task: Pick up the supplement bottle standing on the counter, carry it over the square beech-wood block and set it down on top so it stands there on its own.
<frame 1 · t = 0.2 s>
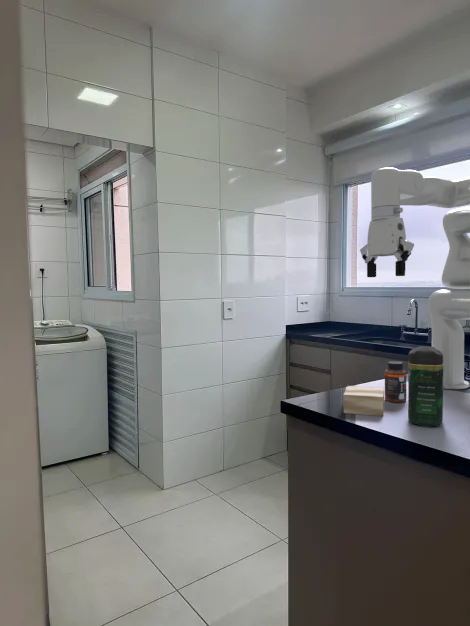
hand: (385, 276, 117), 36 cm above the countertop, tool pointing down, fingers open, 9 cm apart
supplement bottle: (395, 401, 123), on the countertop
beech block: (364, 409, 115), on the countertop
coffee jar: (425, 422, 104), on the countertop
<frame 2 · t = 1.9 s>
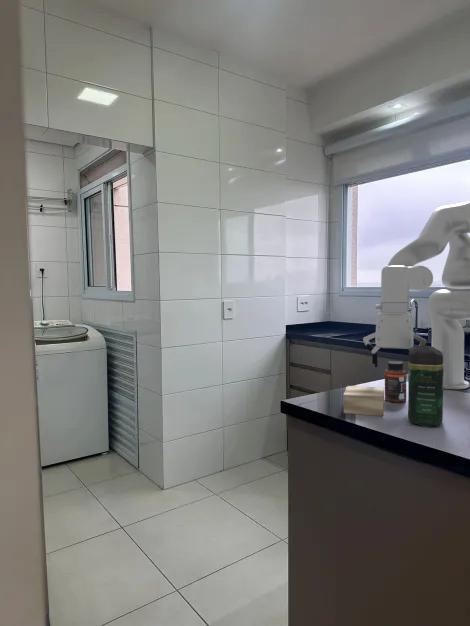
hand: (393, 367, 121), 10 cm above the countertop, tool pointing down, fingers open, 9 cm apart
nothing on the countertop moved.
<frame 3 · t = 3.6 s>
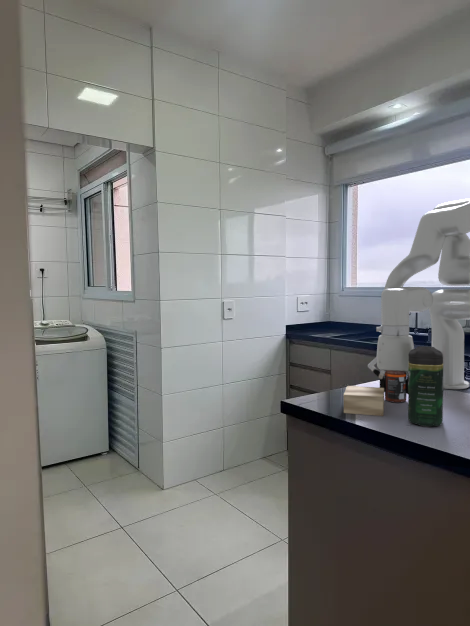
hand: (395, 391, 122), 3 cm above the countertop, tool pointing down, fingers closed on supplement bottle, 6 cm apart
supplement bottle: (395, 401, 123), on the countertop, touching gripper
everything else where it was.
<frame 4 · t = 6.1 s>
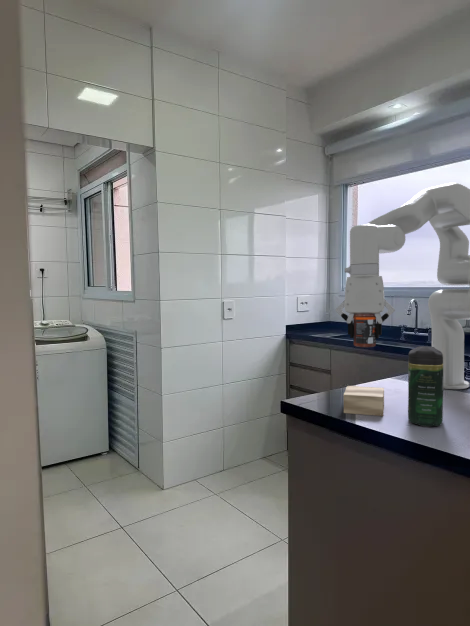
hand: (364, 337, 114), 20 cm above the countertop, tool pointing down, fingers closed on supplement bottle, 6 cm apart
supplement bottle: (364, 347, 114), point 17 cm above the countertop, touching gripper
everything else where it was.
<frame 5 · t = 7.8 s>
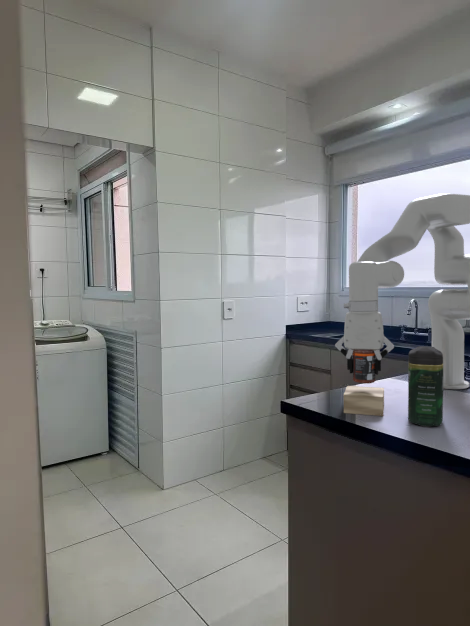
hand: (364, 372, 115), 10 cm above the countertop, tool pointing down, fingers closed on supplement bottle, 6 cm apart
supplement bottle: (364, 382, 115), point 7 cm above the countertop, touching gripper
everything else where it was.
when the fingers open (9 cm above the countertop, at t = 9.0 s): supplement bottle drops 1 cm, resting on beech block.
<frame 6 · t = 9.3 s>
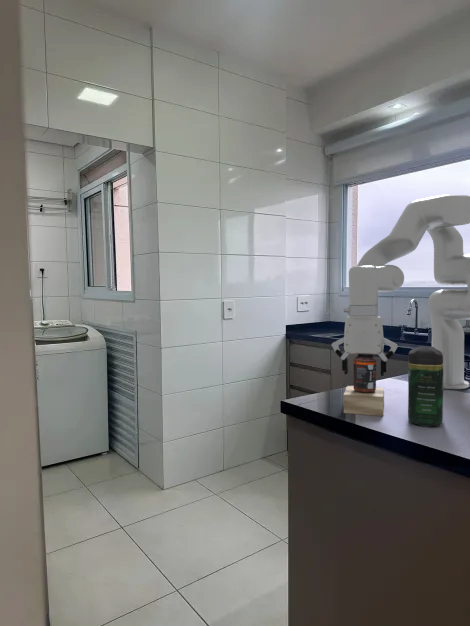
hand: (364, 374, 115), 10 cm above the countertop, tool pointing down, fingers open, 9 cm apart
supplement bottle: (364, 391, 115), point 5 cm above the countertop, touching beech block
everything else where it was.
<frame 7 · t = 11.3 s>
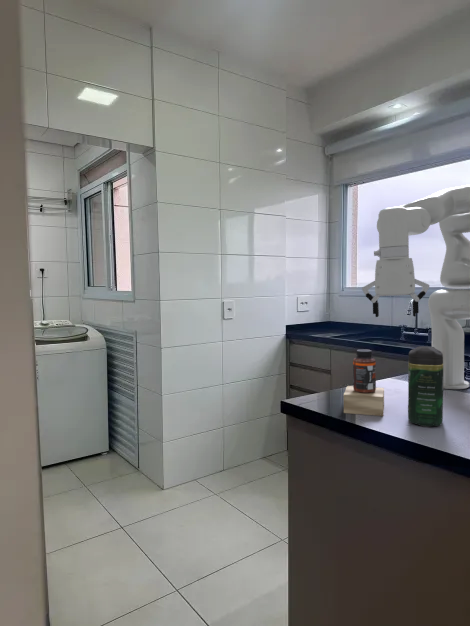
hand: (395, 316, 116), 25 cm above the countertop, tool pointing down, fingers open, 9 cm apart
nothing on the countertop moved.
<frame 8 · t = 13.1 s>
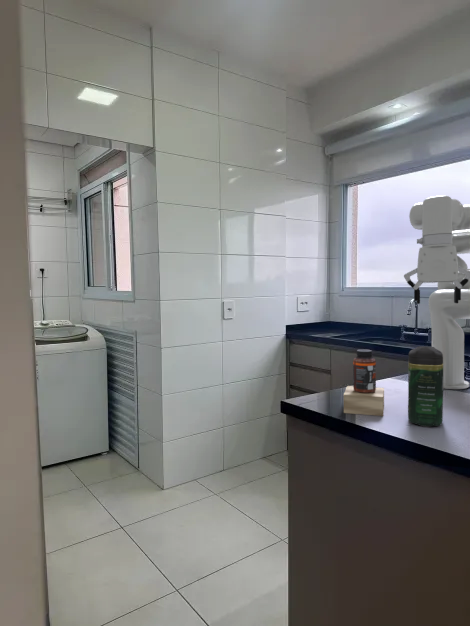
hand: (436, 303, 118), 28 cm above the countertop, tool pointing down, fingers open, 9 cm apart
nothing on the countertop moved.
at the end: supplement bottle inside the target area on the beech block (0.1 cm from its centre), point 4.8 cm above the beech block's base; supplement bottle tilted 0°; the gripper is holding nothing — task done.
